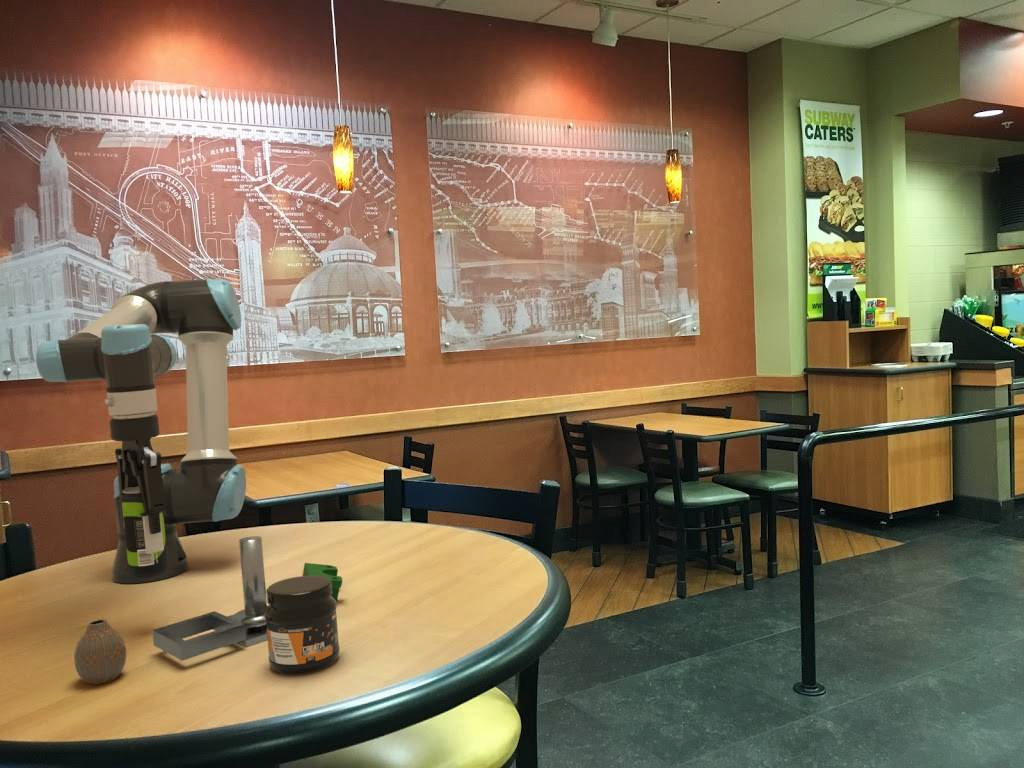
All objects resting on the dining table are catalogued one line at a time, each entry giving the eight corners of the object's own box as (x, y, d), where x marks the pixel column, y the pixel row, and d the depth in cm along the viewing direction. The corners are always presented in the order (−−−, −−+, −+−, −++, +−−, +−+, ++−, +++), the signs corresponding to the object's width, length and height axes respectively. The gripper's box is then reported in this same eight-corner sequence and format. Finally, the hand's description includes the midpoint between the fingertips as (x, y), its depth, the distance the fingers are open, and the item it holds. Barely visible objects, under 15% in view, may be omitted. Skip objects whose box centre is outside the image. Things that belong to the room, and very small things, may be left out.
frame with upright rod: (154, 654, 130) (145, 556, 129) (266, 618, 144) (259, 529, 143) (182, 670, 123) (173, 566, 122) (297, 630, 137) (290, 537, 136)
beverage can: (176, 568, 142) (168, 484, 141) (150, 580, 136) (141, 492, 135) (148, 567, 144) (140, 483, 143) (121, 578, 138) (112, 491, 137)
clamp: (333, 626, 151) (343, 587, 147) (300, 624, 149) (310, 584, 145) (330, 584, 161) (340, 547, 158) (300, 582, 159) (309, 544, 156)
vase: (88, 671, 125) (83, 615, 124) (135, 667, 125) (130, 611, 125) (68, 691, 118) (62, 632, 117) (117, 686, 118) (111, 628, 118)
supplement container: (273, 683, 116) (267, 601, 116) (265, 657, 126) (258, 581, 125) (347, 667, 120) (341, 587, 120) (333, 643, 130) (327, 570, 129)
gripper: (90, 415, 142) (103, 545, 144) (133, 421, 129) (147, 563, 131) (134, 410, 147) (146, 535, 149) (179, 415, 134) (192, 552, 136)
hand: (146, 548), depth 140 cm, fingers closed on beverage can, 6 cm apart
